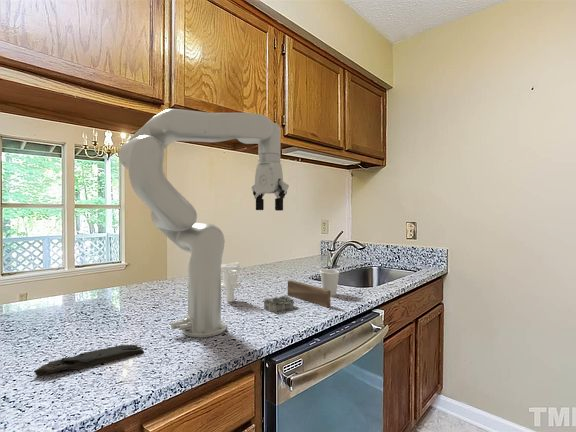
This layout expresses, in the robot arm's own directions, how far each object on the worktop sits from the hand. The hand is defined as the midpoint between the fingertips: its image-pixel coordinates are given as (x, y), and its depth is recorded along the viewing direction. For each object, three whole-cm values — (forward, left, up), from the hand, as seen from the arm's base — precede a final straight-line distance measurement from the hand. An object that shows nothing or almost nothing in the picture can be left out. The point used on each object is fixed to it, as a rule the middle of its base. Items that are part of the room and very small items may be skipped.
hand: (269, 210), depth 112 cm
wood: (-53, -1, -36) cm, 64 cm away
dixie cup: (+36, +4, -36) cm, 51 cm away
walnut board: (+22, +3, -36) cm, 42 cm away
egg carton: (+7, +3, -36) cm, 37 cm away
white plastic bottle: (-2, +22, -36) cm, 42 cm away
